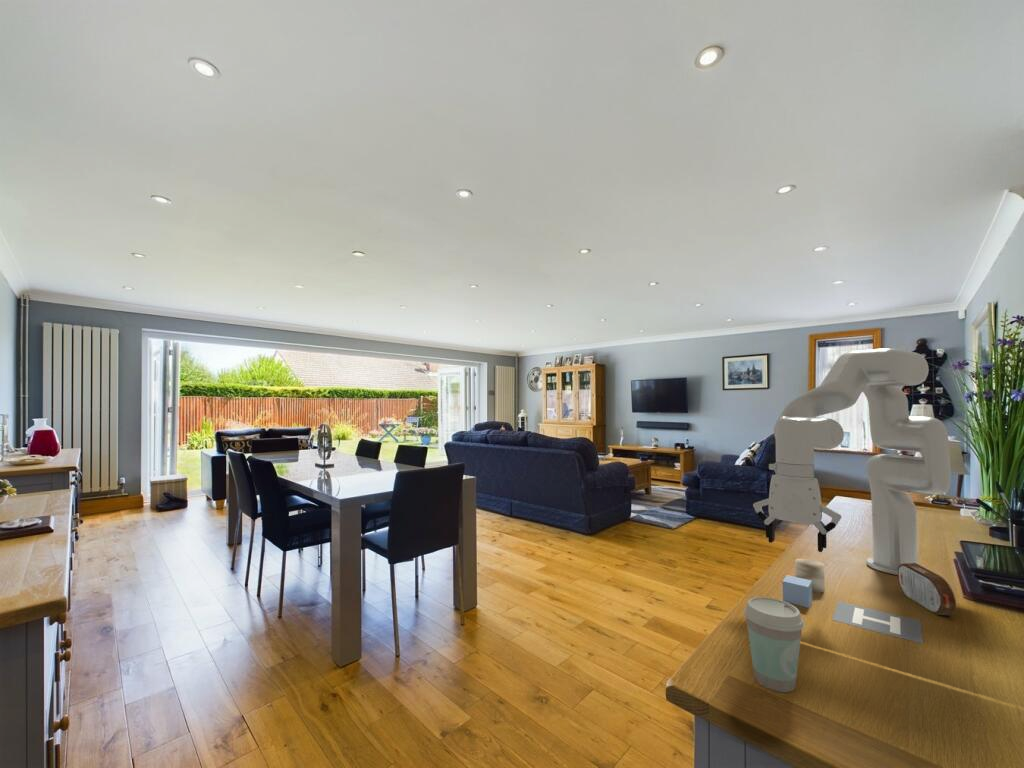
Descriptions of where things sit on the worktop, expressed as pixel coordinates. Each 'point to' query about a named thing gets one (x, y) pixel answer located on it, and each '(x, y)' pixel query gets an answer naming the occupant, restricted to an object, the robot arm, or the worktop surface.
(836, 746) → the worktop surface
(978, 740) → the worktop surface
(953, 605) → the tin
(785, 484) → the robot arm
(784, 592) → the blue cube
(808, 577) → the beige streaked cube
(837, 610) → the letter card
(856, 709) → the worktop surface
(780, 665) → the coffee cup
